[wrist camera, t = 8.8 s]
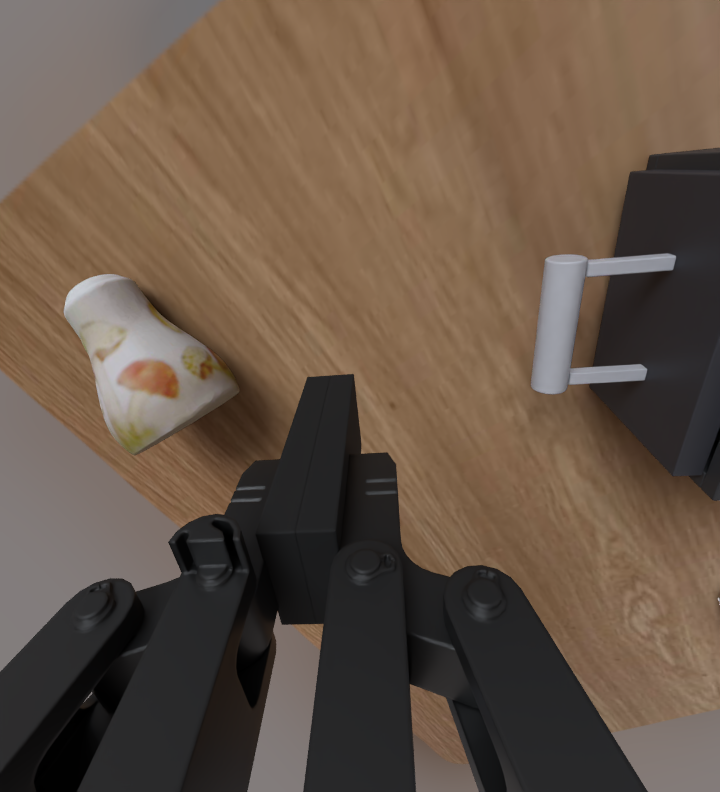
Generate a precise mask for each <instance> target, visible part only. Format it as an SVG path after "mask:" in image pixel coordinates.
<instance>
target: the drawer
mask: <svg viewBox="0 0 720 792" xmlns="http://www.w3.org/2000/svg"><path fill="white" fill-rule="evenodd" d="M609 275H610V280H609V285H608V290H607V296H606V301H605V306H604V311H603V316H602V322H601V327H600V332H599V337H598V343H597V348H596V353H595V358H594V364H593V367H585V368H570V367H571V361H572V355H573V348H574V342H575V336H576V330H577V324H578V318H579V311H580V305H581V299H582V293H583V287H584V281H585V276H586V277H596V276H609ZM568 384H569V385H573V384H590V385H589V387H590V388H591V389H592V390H593V391H594V392H595V394H596V395H597V396H598V397H599V398H600V399H601V400H602V401H603V402H604V403H605V404H606V405H607V406H608V407H609V409H610V410H611V411H612V412H613V413H614V414H615V415H616V416H617V417H618V418H619V419H620V420H621V421H622V423H623V424H624V425H625V426H626V427H627V428H628V429H629V430H630V431H631V432H632V433H633V434H634V435H635V436H636V438H637V439H638V440H639V441H640V442H641V443H642V444H643V445H644V446H645V447H646V448H647V449H648V450H649V452H650V453H651V454H652V455H653V456H654V457H655V458H656V459H657V460H658V461H659V462H660V463H661V464H662V465H663V467H664V468H665V469H666V470H667V471H668V472H669V473H670V474H671V475H672V476H694V475H702V473H703V470H704V468H705V465H706V463H707V460H708V457H709V455H710V452H711V449H712V447H713V444H714V441H715V439H716V440H717V441H719V440H720V170H663V169H655V170H645V171H635V172H630V175H629V180H628V185H627V191H626V196H625V201H624V206H623V212H622V217H621V222H620V227H619V233H618V238H617V243H616V248H615V254H614V258H605V259H593V260H588V259H587V257H584V256H581V255H569V254H567V255H554V256H550V257H547V258H546V259H545V265H544V273H543V282H542V291H541V299H540V308H539V317H538V325H537V334H536V343H535V351H534V360H533V369H532V377H531V387H532V388H533V389H534V390H535V391H537V392H540V393H544V394H560V393H563V392H564V391H565V390H566V389H567V385H568Z"/></svg>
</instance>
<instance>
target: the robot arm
mask: <svg viewBox="0 0 720 792" xmlns="http://www.w3.org/2000/svg"><path fill="white" fill-rule="evenodd" d="M168 543H169V545H170V547H171V549H172V552H173V554H174V556H175V558H176V561H177V563H178V565H179V568H180V570H181V572H182V573H181V576H180V577H179V578H176V579H174V580H171V581H169V582H166V583H163V584H160V585H156V586H154V587H150V588H147V589H143V590H140V591H137V592H135V590H134V588H133V586H132V584H131V583H130V582H128V581H126V580H124V579H107V580H104V581H100V582H97V583H94V584H92V585H90V586H89V587H87V588H85V589H83V590H82V591H80V592H79V593H78V594H76V595H75V596H74V597H73V598H72V599H71V600H69V601H68V602H67V603H66V604H65V605H64V606H63V607H62V608H61V609H60V610H59V611H58V612H57V613H56V614H55V615H54V616H53V617H52V618H51V619H50V621H49V622H48V623H47V624H46V625H45V626H44V627H43V628H42V629H41V630H40V631H39V632H38V633H37V634H36V635H35V636H34V637H33V638H32V639H31V640H30V642H28V644H27V645H26V646H25V647H24V648H23V649H22V650H21V651H20V652H19V653H18V654H17V655H16V656H15V657H14V658H13V659H12V660H11V661H10V662H9V663H8V665H7V666H6V667H5V668H4V669H3V670H2V671H1V672H0V792H247V790H248V785H249V780H250V776H251V771H252V766H253V761H254V756H255V752H256V747H257V742H258V737H259V732H260V727H261V722H262V718H263V713H264V708H265V703H266V698H267V693H268V689H269V684H270V679H271V674H272V669H273V664H274V659H275V655H276V639H275V636H274V633H273V628H274V623H275V619H276V615H277V610H278V613H279V616H280V620H281V623H282V624H284V625H285V624H286V625H288V624H324V626H323V634H322V642H321V650H320V659H319V667H318V675H317V683H316V692H315V700H314V709H313V716H312V725H311V733H310V742H309V750H308V759H307V767H306V774H305V783H304V791H303V792H416V785H415V784H416V783H415V766H414V749H413V732H412V715H411V698H410V684H412V685H414V686H417V687H420V688H422V689H425V690H428V691H430V692H433V693H436V694H438V695H441V696H444V697H446V699H447V701H448V704H449V707H450V710H451V713H452V716H453V719H454V722H455V724H456V727H457V730H458V733H459V736H460V739H461V742H462V744H463V747H464V750H465V753H466V756H467V759H468V762H469V764H470V767H471V770H472V773H473V776H474V779H475V782H476V784H477V787H478V790H479V792H648V791H647V790H646V788H645V787H644V785H643V783H642V782H641V780H640V779H639V777H638V775H637V774H636V772H635V771H634V769H633V767H632V766H631V764H630V763H629V761H628V759H627V758H626V756H625V755H624V753H623V751H622V750H621V748H620V747H619V745H618V744H617V742H616V740H615V739H614V737H613V735H612V734H611V732H610V731H609V729H608V727H607V726H606V724H605V723H604V721H603V719H602V718H601V716H600V715H599V713H598V711H597V710H596V708H595V707H594V705H593V703H592V702H591V700H590V699H589V697H588V695H587V694H586V692H585V691H584V689H583V687H582V686H581V684H580V682H579V681H578V679H577V678H576V676H575V674H574V673H573V671H572V670H571V668H570V666H569V665H568V663H567V662H566V660H565V658H564V657H563V655H562V654H561V652H560V650H559V649H558V647H557V646H556V644H555V642H554V641H553V639H552V638H551V636H550V634H549V633H548V631H547V630H546V628H545V626H544V625H543V623H542V622H541V620H540V618H539V617H538V615H537V614H536V612H535V610H534V609H533V607H532V606H531V604H530V602H529V601H528V599H527V598H526V596H525V594H524V593H523V591H522V590H521V588H520V587H519V586H518V585H517V584H516V583H515V582H514V580H513V579H512V578H511V577H509V576H508V575H506V574H504V573H503V572H501V571H499V570H498V569H495V568H491V567H487V566H483V565H478V566H467V567H464V568H462V569H460V570H458V571H456V572H454V573H453V575H452V576H451V577H448V576H444V575H441V574H437V573H433V572H430V571H428V570H425V569H422V568H421V567H419V566H418V565H416V564H415V563H413V562H412V561H411V560H410V559H409V558H408V557H407V555H406V554H405V552H404V550H403V548H402V544H401V535H400V519H399V503H398V488H397V472H396V464H395V462H394V461H393V460H392V458H391V457H390V456H389V454H388V453H368V454H361V436H360V427H359V418H358V409H357V400H356V391H355V382H354V374H348V375H333V376H319V377H307V380H306V383H305V386H304V389H303V392H302V395H301V398H300V401H299V404H298V407H297V410H296V413H295V416H294V419H293V422H292V425H291V428H290V431H289V434H288V437H287V440H286V443H285V446H284V449H283V452H282V455H281V458H280V459H278V460H259V461H255V462H254V463H253V464H252V465H251V466H250V467H249V468H248V469H247V470H246V471H245V472H244V473H243V474H242V476H241V478H240V481H239V483H238V485H237V487H236V491H235V492H234V494H233V496H232V499H231V503H229V506H228V508H227V510H226V512H225V515H221V514H213V515H208V516H202V517H200V518H198V519H195V520H193V521H191V522H189V523H187V524H186V525H185V526H183V527H182V528H181V529H179V530H178V531H177V532H176V533H175V534H174V536H173V537H172V538H171V539H170V541H169V542H168ZM91 692H92V693H93V694H92V695H91V696H90V697H89V698H88V699H87V700H86V701H85V699H86V698H87V697H88V696H89V694H90V693H91ZM84 701H85V702H84ZM83 702H84V703H83Z"/></svg>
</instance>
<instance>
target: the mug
mask: <svg viewBox="0 0 720 792" xmlns="http://www.w3.org/2000/svg"><path fill="white" fill-rule="evenodd" d="M64 315H65V317H66V319H67V320H68V322H69V323H70V324H71V326H72V328H73V329H74V330H75V332H76V333H77V334H78V336H79V337H80V339H81V341H82V343H83V345H84V347H85V350H86V351H87V353H88V354H89V357H90V360H91V364H92V368H93V373H94V378H95V382H96V387H97V392H98V398H99V402H100V406H101V410H102V414H103V417H104V420H105V422H106V425H107V427H108V429H109V431H110V432H111V434H112V436H113V437H114V438H115V439H116V441H117V442H118V443H119V444H120V445H121V446H122V447H123V448H125V449H126V450H127V451H128V452H129V453H131V454H133V455H137V454H139V453H141V452H143V451H145V450H147V449H149V448H150V447H152V446H154V445H156V444H158V443H159V442H161V441H163V440H165V439H166V438H168V437H170V436H171V435H173V434H175V433H176V432H178V431H180V430H181V429H183V428H185V427H186V426H188V425H190V424H192V423H193V422H195V421H197V420H198V419H200V418H201V417H203V416H204V415H206V414H207V413H209V412H211V411H212V410H214V409H215V408H217V407H219V406H220V405H222V404H224V403H225V402H226V401H228V400H229V399H231V398H232V397H234V396H235V395H236V394H238V393H239V386H238V384H237V382H236V379H235V377H234V376H233V374H232V372H231V370H230V369H229V368H228V366H227V365H226V363H225V362H224V361H223V360H222V359H221V358H220V357H219V356H218V355H217V354H215V353H214V352H213V351H212V350H210V349H209V348H208V347H206V346H205V345H203V344H202V343H201V342H199V341H198V340H196V339H195V338H193V337H192V336H190V335H189V334H187V333H186V332H184V331H183V330H181V329H180V328H178V327H177V326H175V325H174V324H172V323H171V322H169V321H168V320H167V319H165V318H164V317H163V316H162V315H161V314H160V313H159V312H158V311H157V310H156V309H155V308H154V307H153V305H152V304H151V303H150V302H149V300H148V299H147V298H146V297H145V295H144V294H143V292H142V291H141V290H140V288H139V287H138V285H137V284H136V283H135V282H134V281H133V280H131V279H129V278H126V277H122V276H119V275H115V274H104V275H99V276H95V277H91V278H88V279H86V280H84V281H83V282H81V283H79V284H78V285H76V286H75V287H74V288H73V289H72V290H71V291H70V292H69V293H68V296H67V298H66V303H65V308H64Z"/></svg>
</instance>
